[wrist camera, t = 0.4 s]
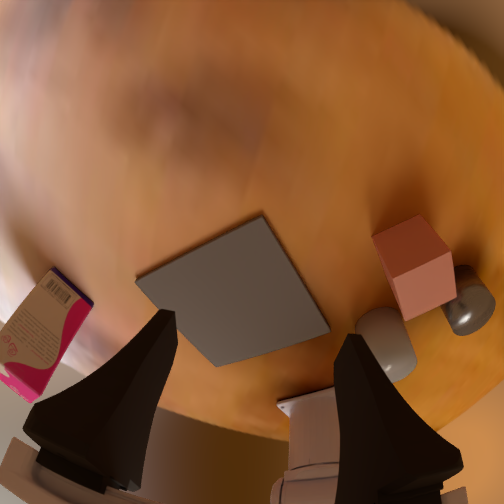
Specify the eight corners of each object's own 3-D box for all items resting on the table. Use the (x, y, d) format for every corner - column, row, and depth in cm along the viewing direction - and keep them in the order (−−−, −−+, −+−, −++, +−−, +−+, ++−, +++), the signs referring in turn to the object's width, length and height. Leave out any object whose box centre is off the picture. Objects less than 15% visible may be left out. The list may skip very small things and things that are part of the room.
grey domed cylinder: (404, 330, 24) (419, 372, 20) (362, 347, 26) (371, 390, 22) (396, 299, 23) (413, 343, 18) (348, 319, 24) (358, 365, 20)
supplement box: (38, 291, 26) (-17, 366, 16) (53, 264, 24) (-15, 348, 14) (76, 325, 28) (29, 406, 18) (96, 304, 26) (41, 397, 16)
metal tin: (475, 292, 22) (494, 320, 18) (437, 311, 23) (453, 343, 20) (473, 257, 20) (496, 285, 16) (432, 278, 21) (450, 310, 18)
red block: (430, 256, 20) (456, 297, 16) (386, 276, 21) (405, 321, 17) (419, 213, 18) (451, 250, 14) (371, 236, 20) (392, 278, 16)
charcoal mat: (330, 328, 25) (330, 331, 24) (216, 364, 29) (216, 367, 28) (262, 214, 20) (262, 217, 19) (136, 279, 24) (134, 282, 23)
